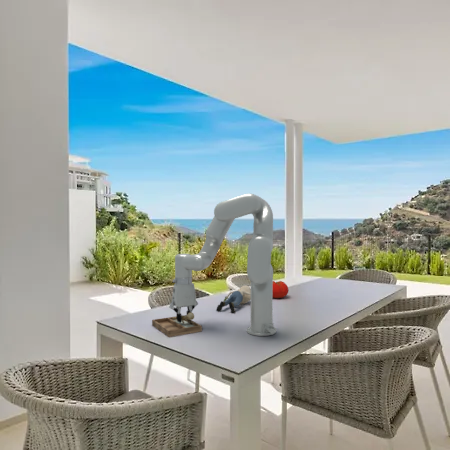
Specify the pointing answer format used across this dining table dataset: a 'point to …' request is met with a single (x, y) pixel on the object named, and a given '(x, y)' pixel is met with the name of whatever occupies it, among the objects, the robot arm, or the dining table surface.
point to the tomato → (279, 289)
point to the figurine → (186, 317)
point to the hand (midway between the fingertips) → (184, 320)
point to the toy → (236, 298)
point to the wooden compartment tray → (176, 326)
